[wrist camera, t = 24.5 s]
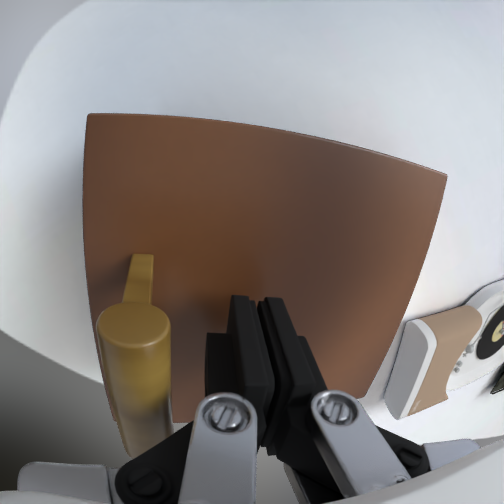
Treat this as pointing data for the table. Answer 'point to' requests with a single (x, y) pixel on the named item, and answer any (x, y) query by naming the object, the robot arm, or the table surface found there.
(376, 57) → the table surface
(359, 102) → the table surface
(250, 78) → the table surface
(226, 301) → the lid
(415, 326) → the record player
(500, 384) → the keyboard
